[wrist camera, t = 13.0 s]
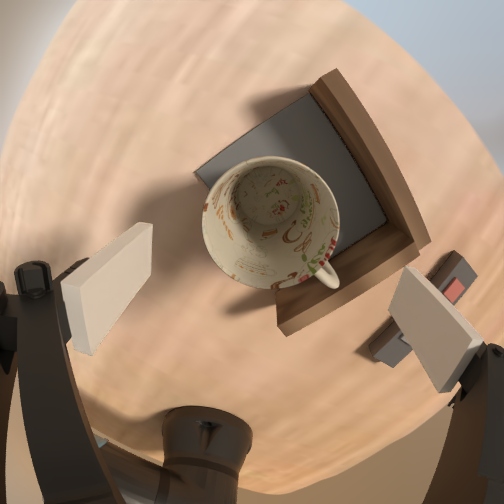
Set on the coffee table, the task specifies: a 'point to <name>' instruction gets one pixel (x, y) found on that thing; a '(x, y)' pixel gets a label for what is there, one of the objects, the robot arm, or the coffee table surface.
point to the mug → (271, 224)
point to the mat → (308, 164)
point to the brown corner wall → (374, 244)
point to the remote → (449, 284)
